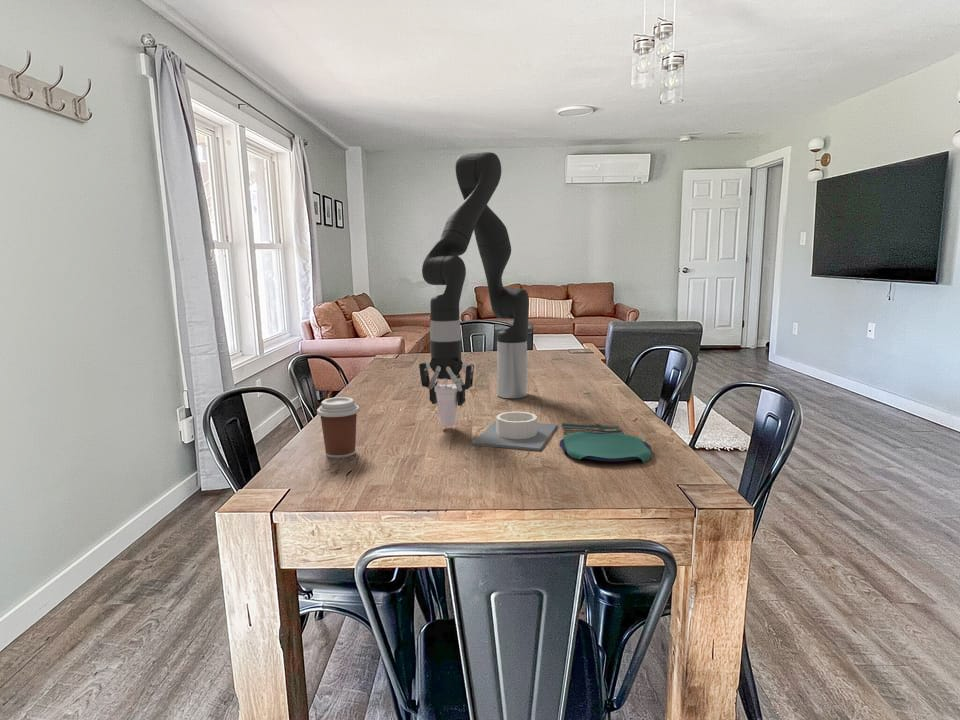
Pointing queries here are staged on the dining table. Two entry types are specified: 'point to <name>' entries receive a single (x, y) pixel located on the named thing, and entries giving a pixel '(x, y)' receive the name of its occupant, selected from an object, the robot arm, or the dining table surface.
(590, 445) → the cutlery set
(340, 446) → the coffee cup
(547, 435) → the sleeve stand
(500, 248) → the robot arm
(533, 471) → the dining table surface
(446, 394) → the smoothie
